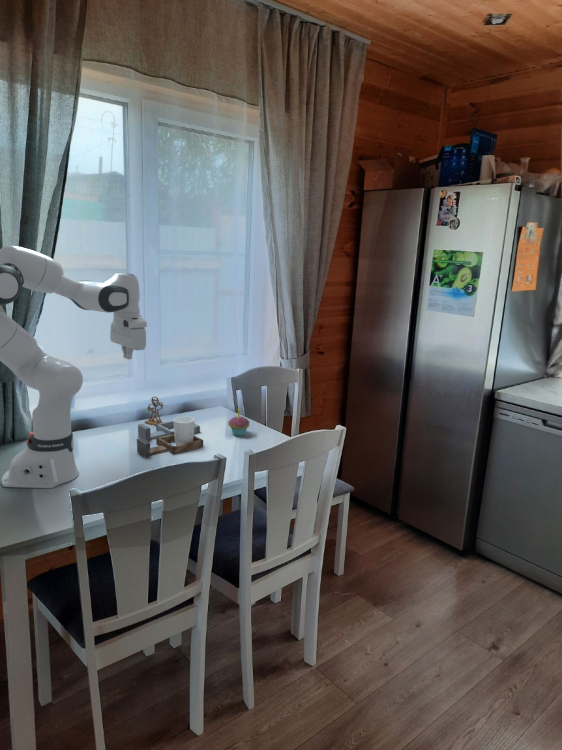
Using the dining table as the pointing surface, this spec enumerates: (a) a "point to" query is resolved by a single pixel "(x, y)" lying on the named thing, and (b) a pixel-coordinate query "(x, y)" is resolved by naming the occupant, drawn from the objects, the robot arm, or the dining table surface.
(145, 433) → the grey frame
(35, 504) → the dining table surface
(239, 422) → the cupcake
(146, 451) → the walnut frame
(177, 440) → the white cup
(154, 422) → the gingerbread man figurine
